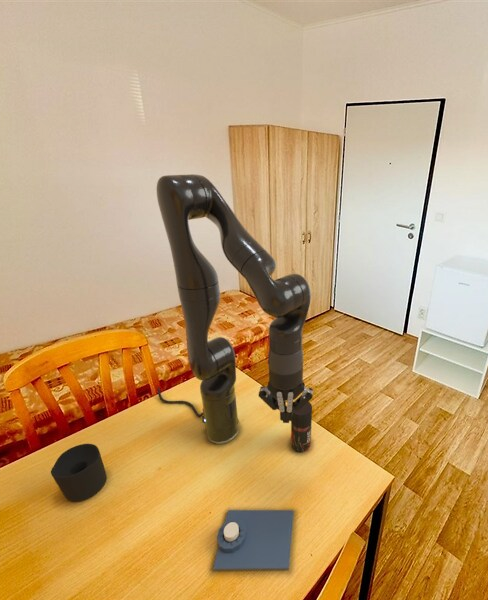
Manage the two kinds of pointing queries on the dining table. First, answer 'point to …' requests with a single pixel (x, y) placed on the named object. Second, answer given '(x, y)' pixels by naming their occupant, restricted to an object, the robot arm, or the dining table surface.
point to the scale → (256, 541)
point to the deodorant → (301, 428)
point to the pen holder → (79, 472)
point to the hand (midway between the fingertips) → (286, 420)
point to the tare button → (231, 531)
